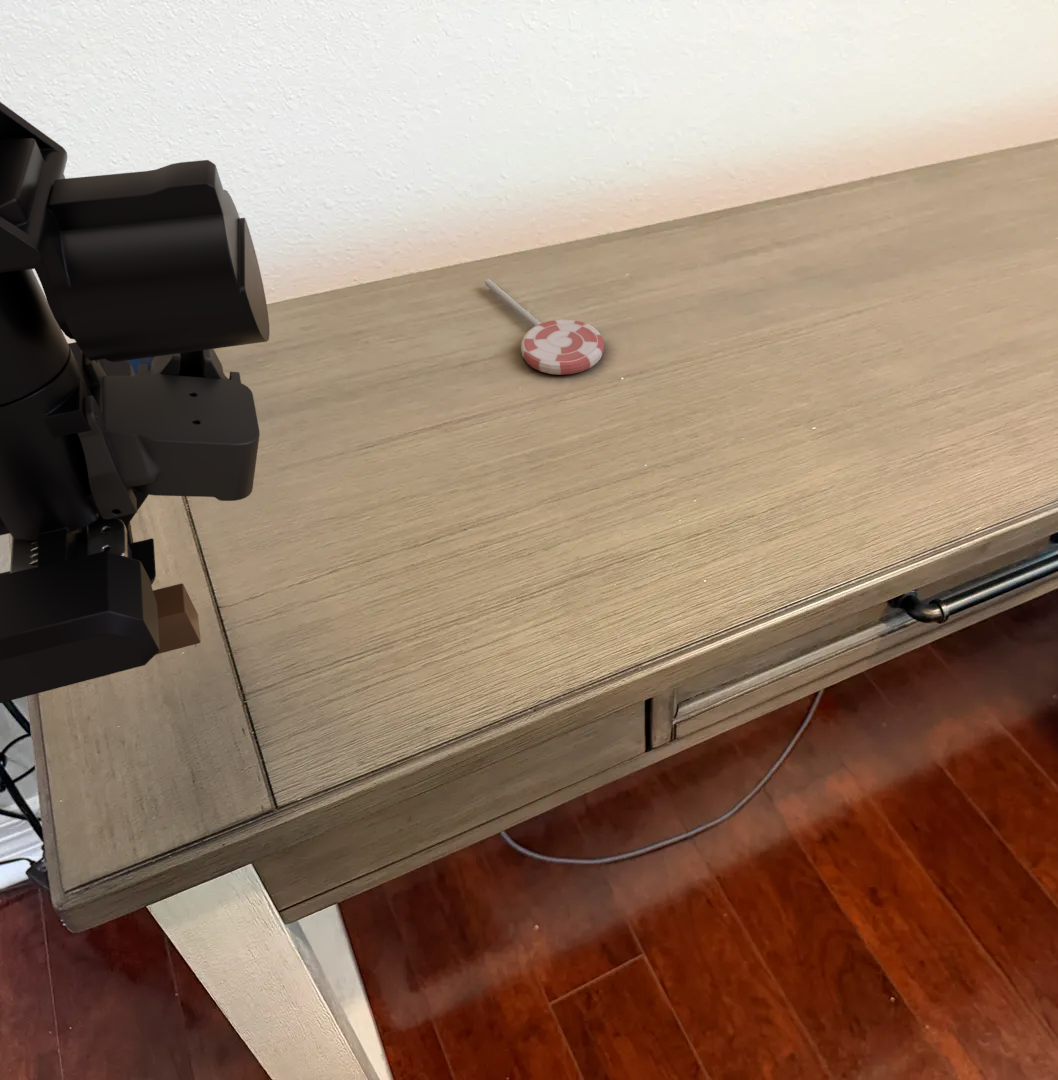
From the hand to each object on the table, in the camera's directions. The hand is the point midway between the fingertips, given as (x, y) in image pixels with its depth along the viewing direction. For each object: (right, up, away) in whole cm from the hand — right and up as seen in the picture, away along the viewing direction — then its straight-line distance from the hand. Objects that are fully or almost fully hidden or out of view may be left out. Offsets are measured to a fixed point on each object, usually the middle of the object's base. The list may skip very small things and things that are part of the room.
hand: (134, 631), depth 50 cm
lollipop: (+13, +22, +35) cm, 44 cm away
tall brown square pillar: (0, -1, +1) cm, 1 cm away
